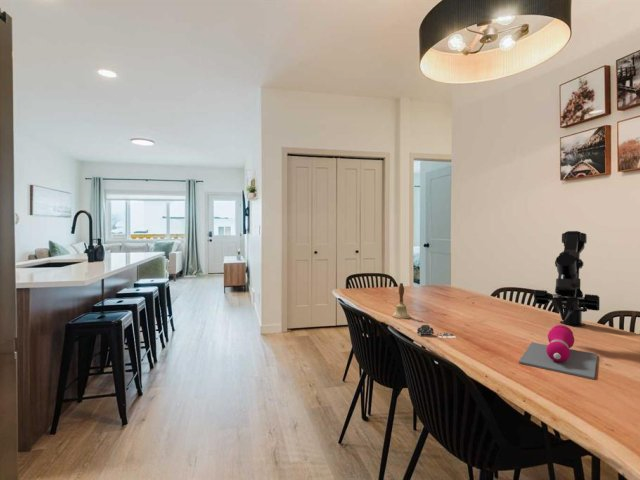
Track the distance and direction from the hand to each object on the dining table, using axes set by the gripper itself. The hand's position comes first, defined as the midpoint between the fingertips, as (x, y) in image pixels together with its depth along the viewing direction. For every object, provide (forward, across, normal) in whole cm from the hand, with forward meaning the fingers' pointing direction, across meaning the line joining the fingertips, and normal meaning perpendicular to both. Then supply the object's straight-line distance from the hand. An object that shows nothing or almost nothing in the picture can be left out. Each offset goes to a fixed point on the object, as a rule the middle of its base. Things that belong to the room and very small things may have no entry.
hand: (563, 319), depth 116 cm
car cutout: (+16, -40, -2) cm, 43 cm away
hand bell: (+4, -63, +10) cm, 64 cm away
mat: (+16, 0, -2) cm, 16 cm away
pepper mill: (+4, 0, +3) cm, 5 cm away
